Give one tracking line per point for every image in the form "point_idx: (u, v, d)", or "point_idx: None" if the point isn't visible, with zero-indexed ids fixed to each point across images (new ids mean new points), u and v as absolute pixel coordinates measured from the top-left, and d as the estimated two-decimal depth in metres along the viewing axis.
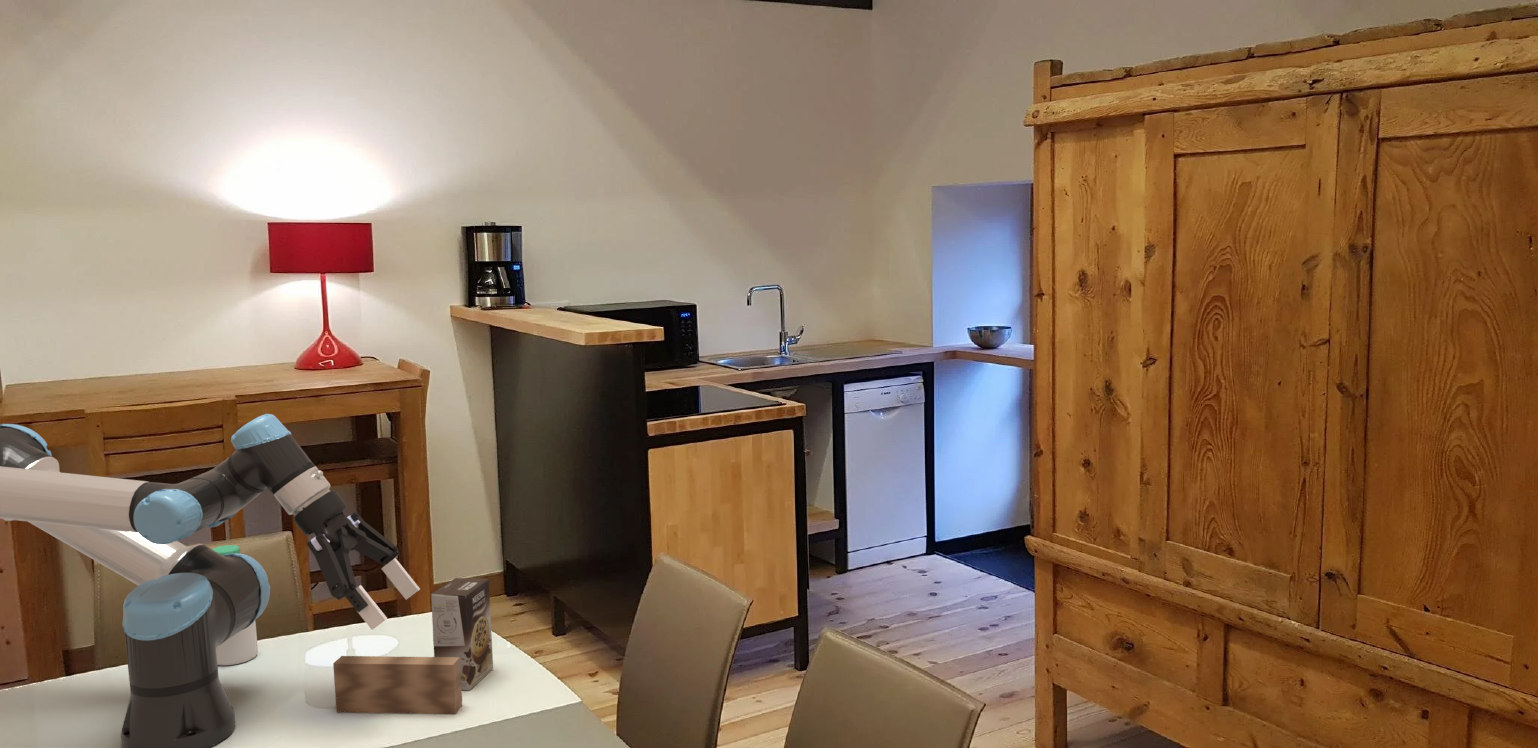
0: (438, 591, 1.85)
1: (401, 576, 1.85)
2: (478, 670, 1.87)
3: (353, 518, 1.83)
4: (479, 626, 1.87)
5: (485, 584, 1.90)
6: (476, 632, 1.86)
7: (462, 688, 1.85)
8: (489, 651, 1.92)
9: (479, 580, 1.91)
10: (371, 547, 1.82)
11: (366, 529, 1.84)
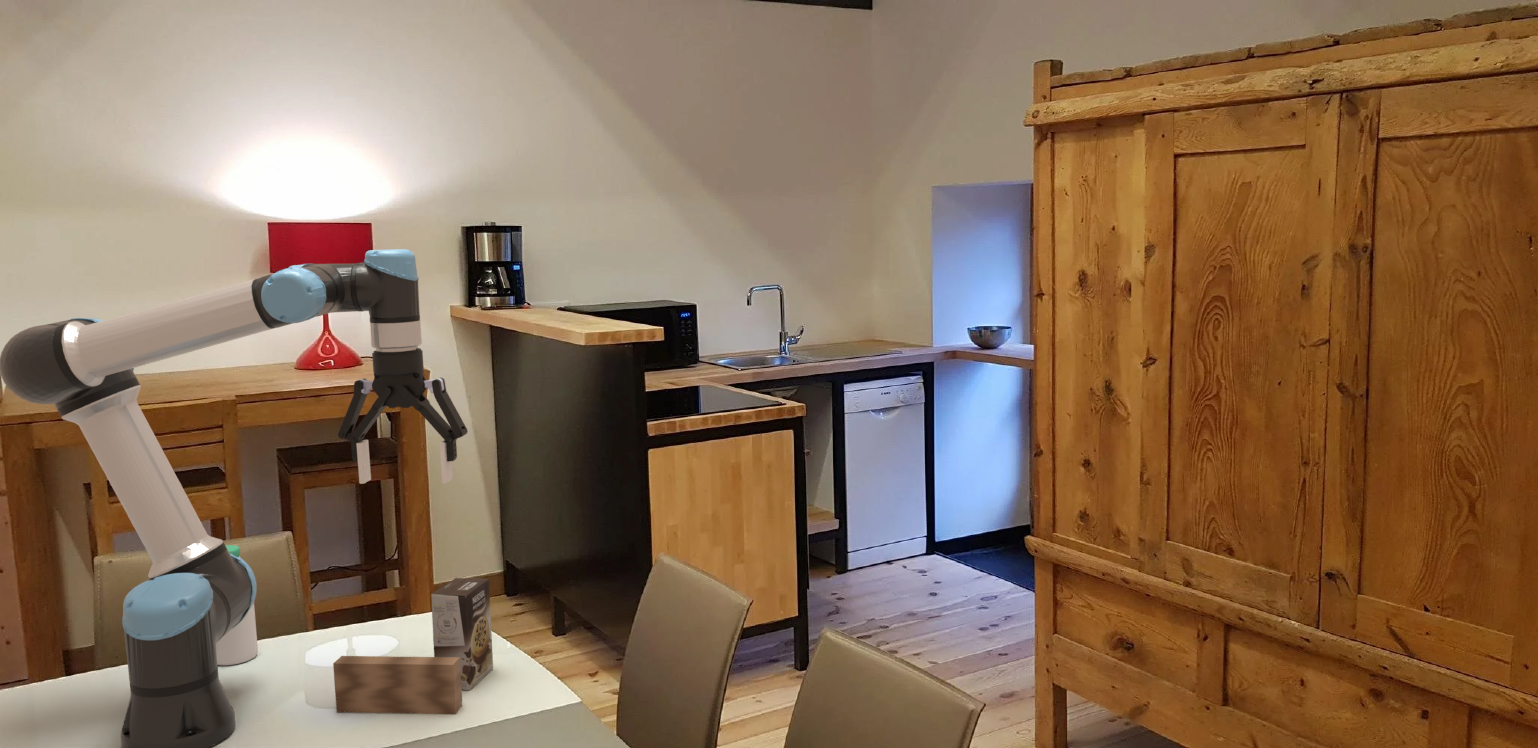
0: (439, 591, 1.85)
1: (367, 459, 1.81)
2: (478, 670, 1.87)
3: None
4: (479, 626, 1.87)
5: (485, 584, 1.90)
6: (476, 632, 1.86)
7: (462, 688, 1.85)
8: (489, 651, 1.92)
9: (479, 580, 1.91)
10: (377, 417, 1.80)
11: (364, 400, 1.80)
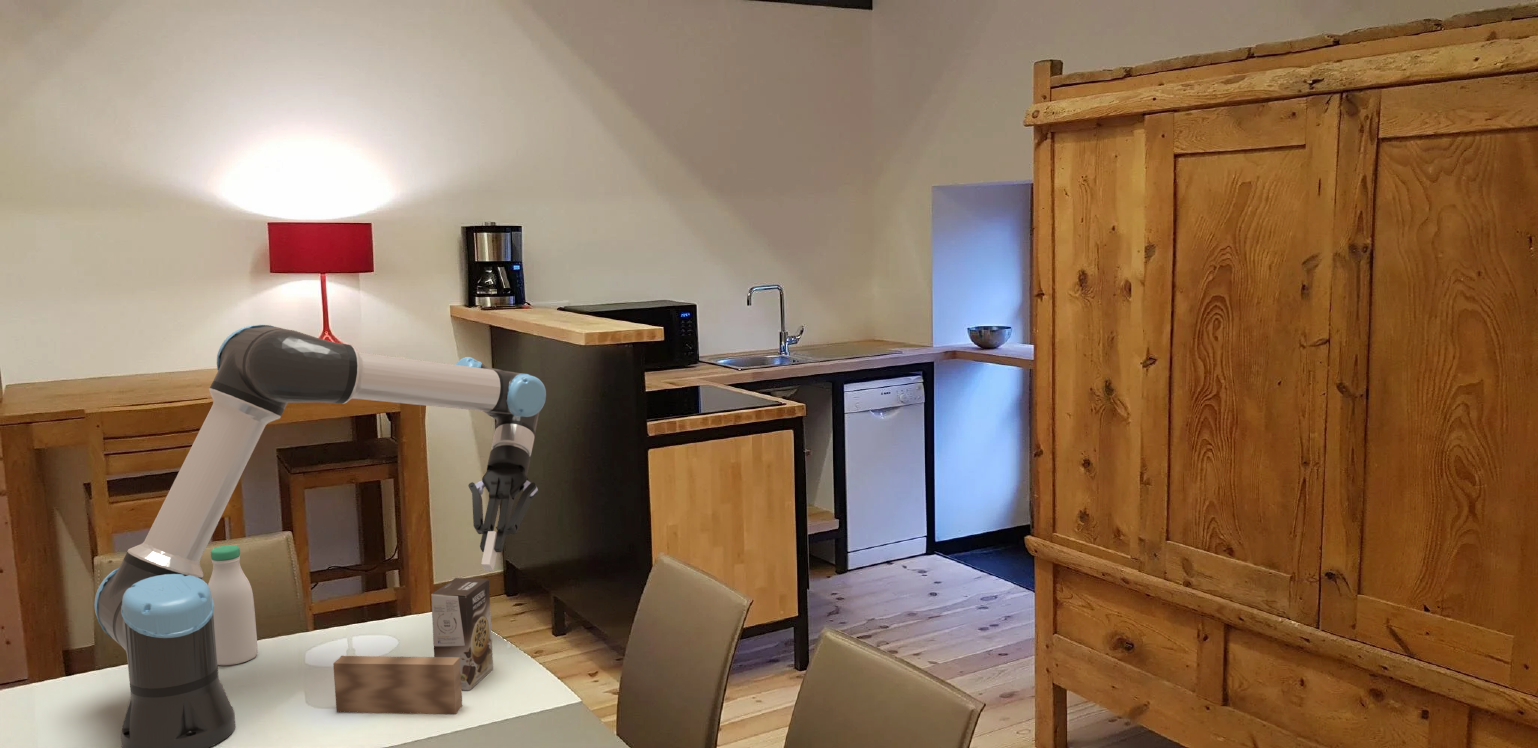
0: (439, 591, 1.85)
1: None
2: (478, 670, 1.87)
3: None
4: (479, 626, 1.87)
5: (485, 584, 1.90)
6: (476, 632, 1.86)
7: (462, 688, 1.85)
8: (489, 651, 1.92)
9: (479, 580, 1.91)
10: (496, 511, 2.08)
11: (481, 501, 2.09)
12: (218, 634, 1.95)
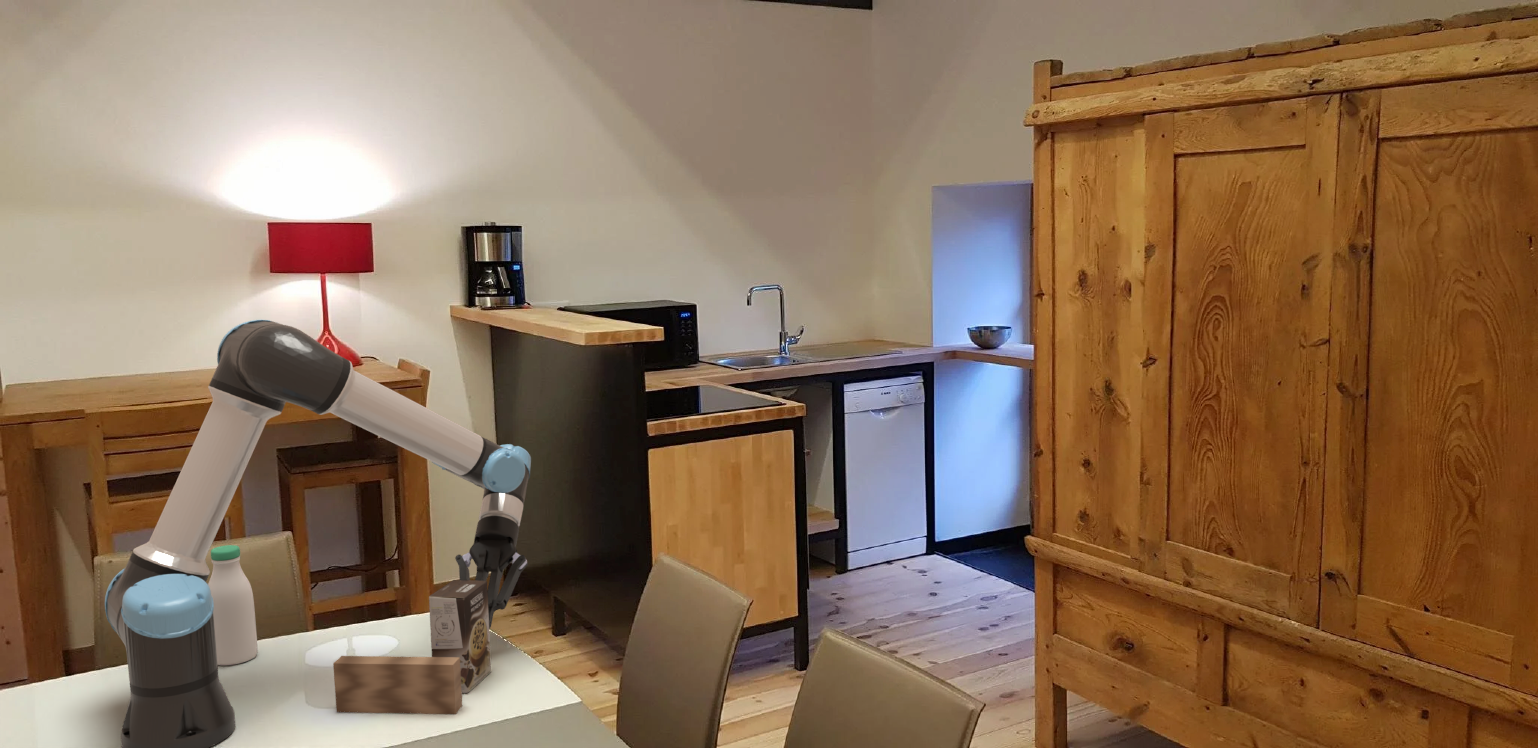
0: (436, 593, 1.84)
1: None
2: (476, 672, 1.86)
3: None
4: (477, 629, 1.86)
5: (483, 586, 1.88)
6: (474, 635, 1.85)
7: None
8: (487, 653, 1.90)
9: (477, 582, 1.89)
10: None
11: (469, 574, 2.03)
12: (218, 634, 1.95)
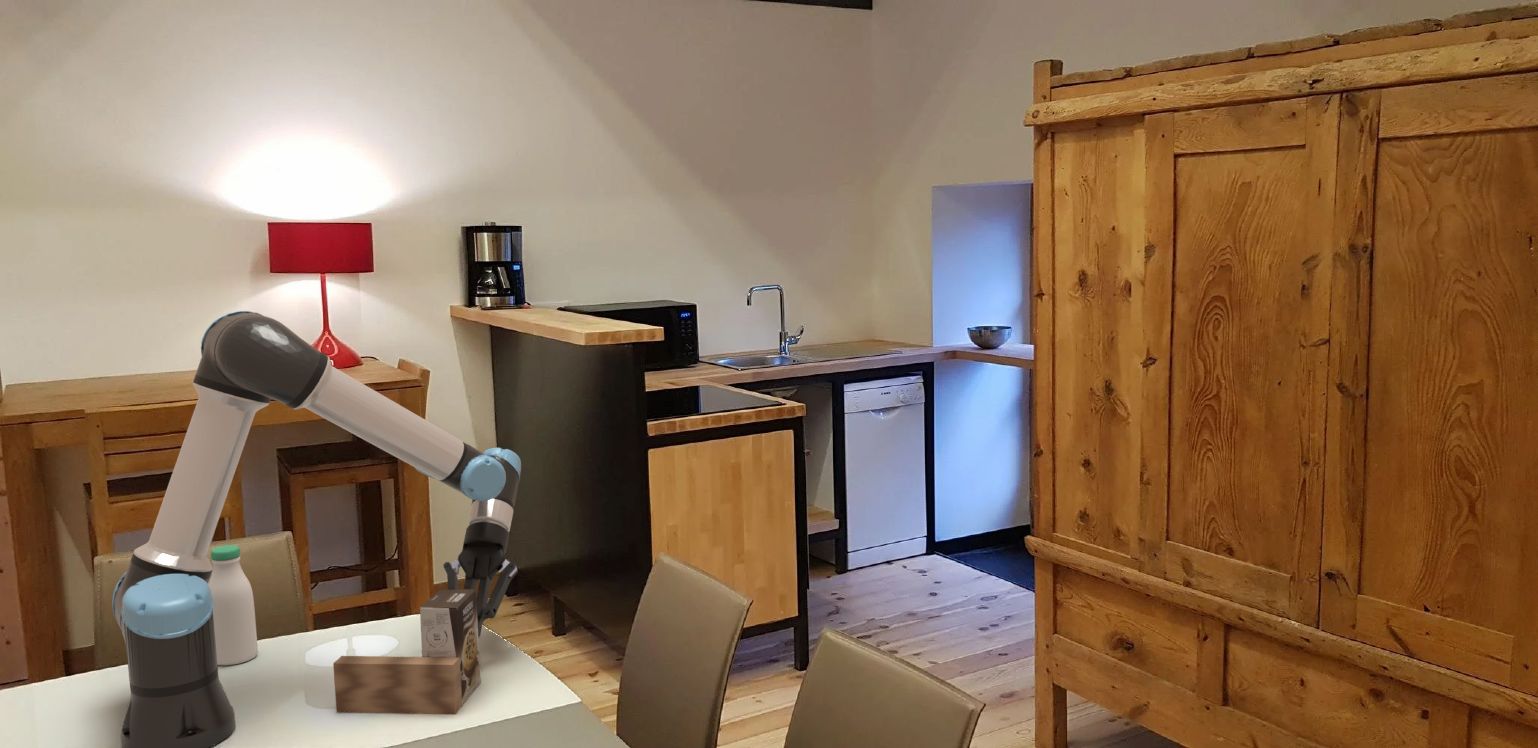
0: (427, 604, 1.79)
1: None
2: (468, 683, 1.82)
3: None
4: (468, 638, 1.82)
5: (473, 595, 1.84)
6: (466, 645, 1.81)
7: None
8: (477, 664, 1.86)
9: (466, 590, 1.85)
10: None
11: (457, 582, 1.98)
12: (218, 634, 1.95)
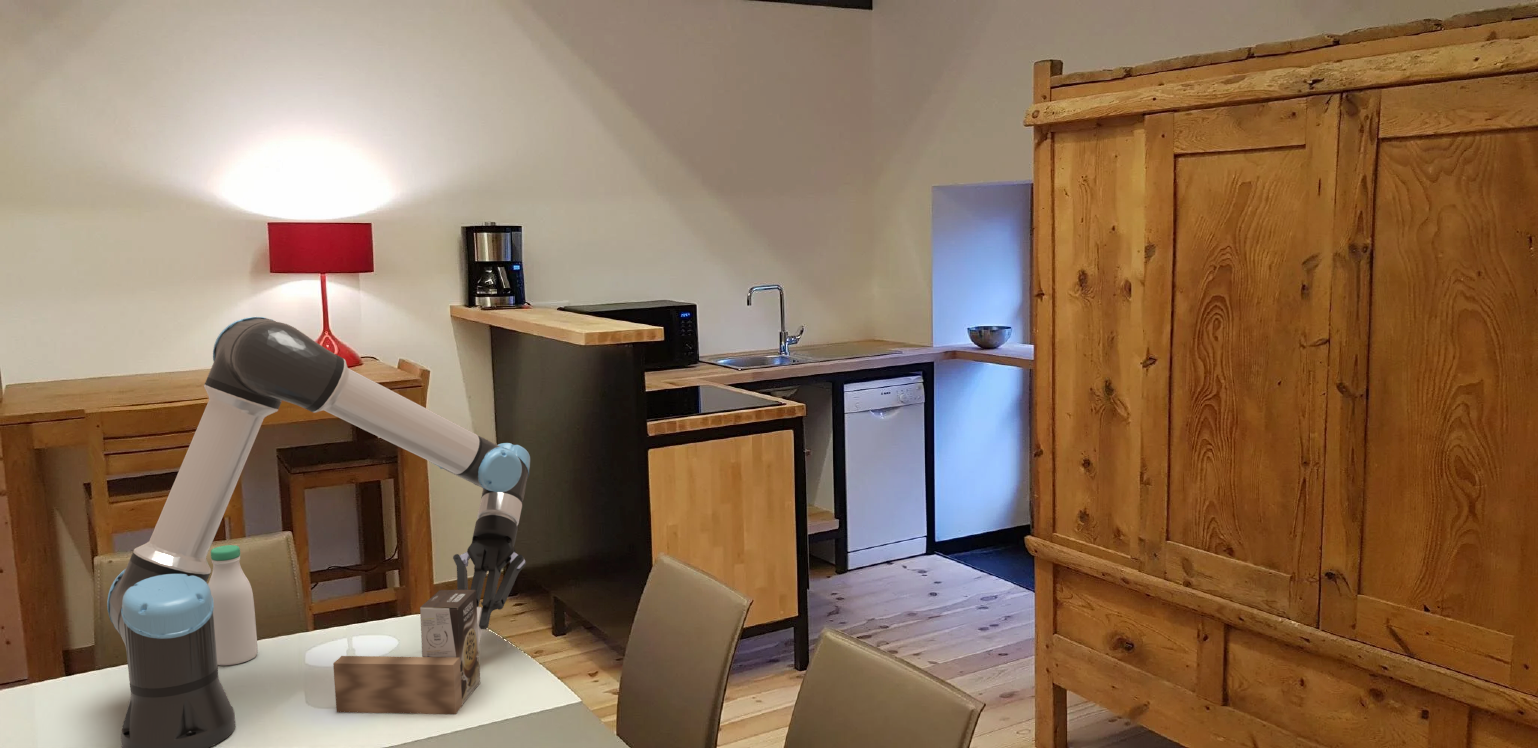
0: (427, 604, 1.79)
1: None
2: (468, 683, 1.82)
3: None
4: (469, 639, 1.82)
5: (473, 595, 1.84)
6: (466, 645, 1.81)
7: None
8: (477, 664, 1.86)
9: (466, 591, 1.85)
10: (482, 585, 2.00)
11: None
12: (218, 634, 1.95)
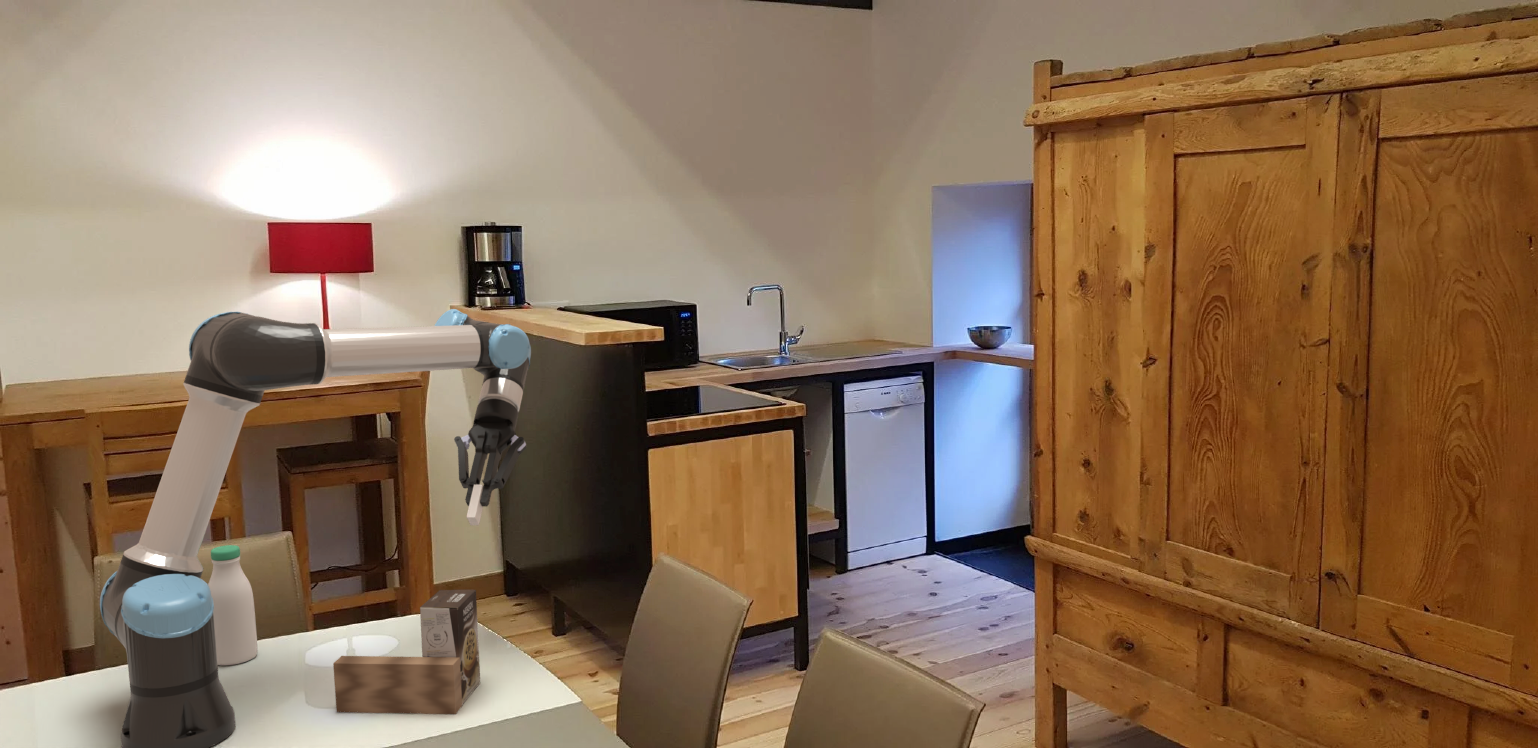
0: (427, 604, 1.79)
1: None
2: (468, 683, 1.82)
3: None
4: (469, 639, 1.82)
5: (473, 595, 1.84)
6: (466, 645, 1.81)
7: None
8: (477, 664, 1.86)
9: (466, 591, 1.85)
10: (483, 466, 2.01)
11: (467, 456, 2.03)
12: (218, 634, 1.95)
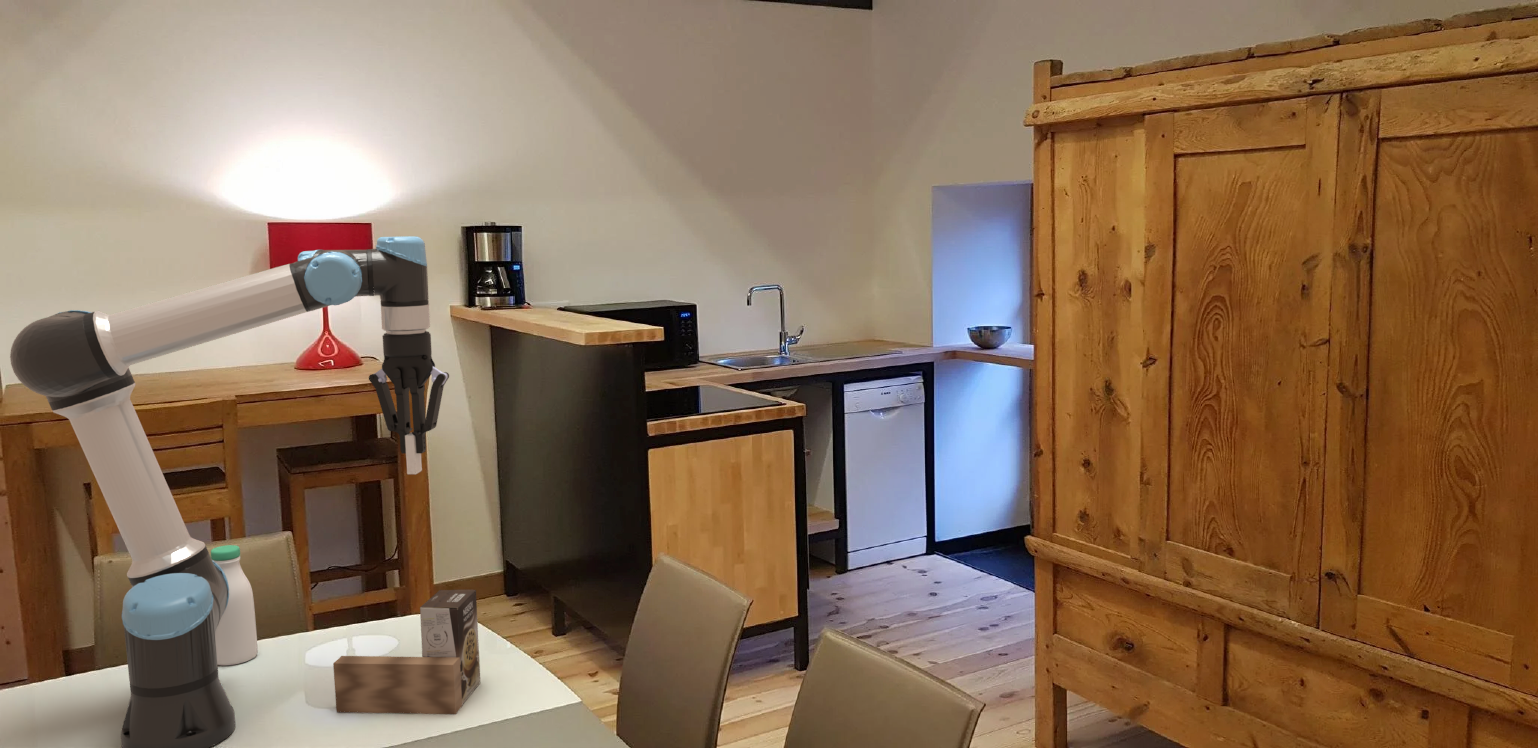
0: (427, 604, 1.79)
1: None
2: (468, 683, 1.82)
3: None
4: (469, 639, 1.82)
5: (473, 595, 1.84)
6: (466, 645, 1.81)
7: None
8: (477, 664, 1.86)
9: (466, 591, 1.85)
10: (408, 402, 1.88)
11: (388, 389, 1.88)
12: (218, 634, 1.95)
